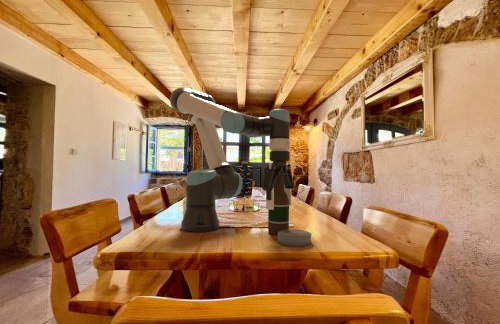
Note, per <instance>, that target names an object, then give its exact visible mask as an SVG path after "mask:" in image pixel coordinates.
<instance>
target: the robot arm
mask: <svg viewBox="0 0 500 324" xmlns="http://www.w3.org/2000/svg"><path fill="white" fill-rule="evenodd" d="M169 103H170V105H171V107H172V108H173V110H175V111H176V112H178V113H181V114H184V115H189V117H190V118H189V119H190V120H191V121H190V122H191V123H192V124H195V126H196V127H195V128H196V130H197V132H198V133H197V134H198V136H199V139H200V142H201V146H202V149H203V153H204V156H205V158H206V162H207V166H208V168H206V169H204V168H203V169H195V170H191V171H189V172H188V173H187V175H186V181H185V184H186V187H185V188H186V191H185V192H186V193H185V195H186V196H185V199H186V200H185V212H184V214H183V217H182V221H181V222H180V229H181V230H182V231H186V232H193V233H201V232H202V233H203V232H204V233H205V232H212V231H216V230H218V229H220V220H219V218H218V213H217V209H216V201H219V200H224V199H226V200H229V199H232V198H235V197H237V196H238V195H239V194H240V193H241V191H242V188H243V179H242V176H241V175H240V174H239V173H238V172H237V171H235V170H234V167H233V165H232V164H231V163H229V162H228V160H227V157H226V155H225V154H226V153H225V152H224V151H225V150H224V148H223V145H222V143H221V142H222V141H221V139H220V136H219V133H218V130H217V127H216V126H218V127H219V128H222V129H223V131H224V132H226V133H227V132H228V133H230V134H232V135H233V134H237V135H243V136H246V137H247V138H254V139H255V138H259V137H260V138H261V137H263V138H264V137H269V161H270V163H267V164H266V165H267V166H266V172H265V176H264V179H263V183H262V188H261V189H262V190H263V191H264V192H265V193H266V194H265V196H266V197H265V199H266V201H265V203H266V204H265V206H266V207H265V208H266V210H268V209H270V210H274V191H273V189H274V185H275V183H276V180H277V178H278V177H279V176H280V175H281V171H282V170H284V173H283V176H284V190H285V192H286V194H287V196H288V198H289V207H291V206H292V189H294V188H295V182H294V178H293V173H292V169H291V168H292V167H291V163H287V162H289V161H290V160H291V159H290V151H289V150H290V144H291V141H290V127H291V125H290V124H291V120H290V119H291V116H290V111H289V110H287V109H285V108H275V109H271V110H270V111H269V116H265V117H257V116H253V115H249V114H245V113H241V112H238V111H236V110H233V109H230V108H227V107H225V106H223V105H219V104H217V103H216V100H215V98H214V97H213V96H212V95H210V94H208V93H207V92H202V91H198V90H195V89H192V88H188V87H184V86H183V87H177V88H176V89H174V90H172V92H171V93H170V96H169ZM271 162H272V163H271Z"/></svg>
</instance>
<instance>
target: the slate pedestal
mask: <svg viewBox="0 0 500 324" xmlns="http://www.w3.org/2000/svg"><path fill="white" fill-rule="evenodd" d="M277 243H278V244H280V245H281V246H286V247H294V248H301V247H308V246H310V245H312V232H310V231H308V230H304V229H298V228H289V229H284V230H280V231H278V236H277Z"/></svg>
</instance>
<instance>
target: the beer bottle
mask: <svg viewBox="0 0 500 324" xmlns="http://www.w3.org/2000/svg"><path fill="white" fill-rule="evenodd" d="M283 173H284V170H282V171H281V175H280V176H279V177H278V178H277V180H276V183H275V185H274V188H273V190H272V191H274V210H270V209H267V210H268V212H267V214H268V217H267V219H268V221H267V224H268V225H267V230H268V231H267V232H268V234H270V235H272V236H277V237H278V231H280V230H284V229H290V205H289V198H288V196H287V194H286V192H285V190H284V189H285V185H284V176H283Z"/></svg>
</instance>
